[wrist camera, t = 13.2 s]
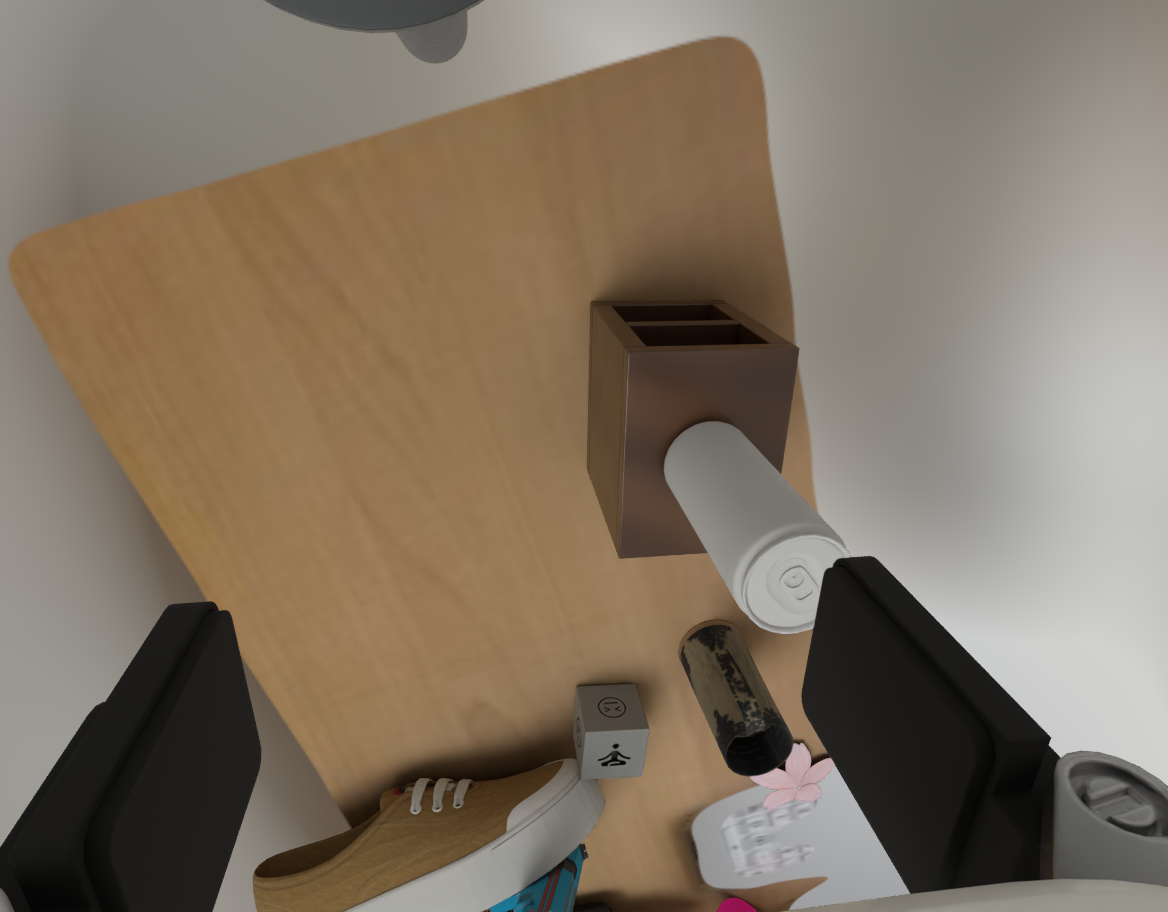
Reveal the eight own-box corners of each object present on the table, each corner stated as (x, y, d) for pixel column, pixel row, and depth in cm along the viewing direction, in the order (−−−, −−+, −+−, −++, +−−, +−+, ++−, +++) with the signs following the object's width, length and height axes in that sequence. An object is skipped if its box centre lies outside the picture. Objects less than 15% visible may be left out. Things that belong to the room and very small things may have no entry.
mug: (748, 662, 60) (809, 776, 49) (687, 683, 60) (734, 802, 49) (729, 590, 57) (790, 696, 46) (665, 612, 57) (711, 723, 46)
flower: (726, 819, 66) (721, 805, 67) (814, 834, 69) (807, 820, 70) (776, 742, 62) (770, 728, 64) (866, 761, 65) (858, 748, 67)
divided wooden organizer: (590, 301, 46) (628, 351, 35) (723, 300, 47) (800, 347, 36) (586, 469, 51) (618, 559, 40) (707, 463, 52) (770, 549, 41)
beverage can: (719, 399, 37) (824, 507, 26) (763, 464, 39) (878, 590, 28) (643, 453, 37) (716, 581, 26) (690, 514, 39) (776, 657, 28)
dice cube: (572, 732, 60) (580, 780, 56) (576, 686, 58) (585, 732, 54) (629, 729, 61) (642, 776, 57) (635, 683, 59) (649, 728, 55)
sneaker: (613, 848, 52) (553, 722, 53) (260, 1025, 52) (207, 895, 53) (613, 796, 62) (563, 690, 63) (317, 944, 62) (272, 836, 63)
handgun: (432, 875, 66) (585, 822, 67) (440, 908, 65) (594, 854, 66) (336, 980, 44) (564, 900, 45) (346, 1031, 43) (578, 950, 44)
